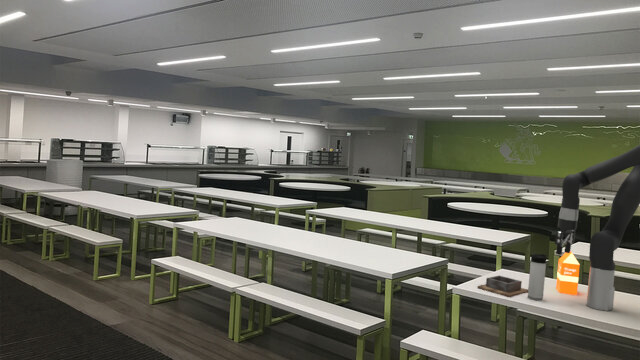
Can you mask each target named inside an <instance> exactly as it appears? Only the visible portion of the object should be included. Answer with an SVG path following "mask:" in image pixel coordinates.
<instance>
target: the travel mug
mask: <svg viewBox="0 0 640 360" xmlns="http://www.w3.org/2000/svg"><path fill="white" fill-rule="evenodd" d="M530 256H531V258H530V259H531V260H530V266H529V279H528V288H527V289H528V292H527V298H528V299H529V298H530V299H529V300H531V301H532V300H533V301H540V302H541V301H543V300H544V291H545V290H544V289H545V281H546V280H545V279H546V269H547V255H546V254H544V253H542V254H540V253H539V254H537V253H535V254H532V255H530Z"/></svg>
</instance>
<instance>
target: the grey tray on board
mask: <svg viewBox="0 0 640 360" xmlns="http://www.w3.org/2000/svg"><path fill="white" fill-rule="evenodd" d="M522 282H523V281H522V280H519V279H514V278H511V277H508V276H503V275H495V276H491V277H486V282H485V283H484V284H481V285H477V289H480V290H482V291H487V292H490V293H493V294H495V295H496V294H497V295H500V296H504V297H506V298H512V297H516V296H519V295H523V294H528V288H525V287H524V288H523V287H522Z"/></svg>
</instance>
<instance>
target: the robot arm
mask: <svg viewBox="0 0 640 360" xmlns="http://www.w3.org/2000/svg"><path fill="white" fill-rule="evenodd" d="M630 168H632V169H631V171H630V172H629V173H628V174H627V176H626V178H624V180H623V181H622V183H621V184H620V186H619V188H618V189H617V191H616V193H615V195H614V197H613V200H612V203H611V208H610V213H609V218H608V220H607V221H606V224H605V226H604V227H603V228H602V230H601V231H597V232H595V233H594V234H593V235H592V236H591V237H590V241H589V252H588V253H589V255H588V257H589V263H590V264H589V274H588V284H587V295H586V306H587V307H589V308H592V309H595V310H599V311H606V312H608V311H610V310H611V311H612V310H613V309H614V302H615V301H614V300H615V291H616V288H615V286H614V283H615V282H614V281H615V272H616V263H615V261H614V253H615V251H616V250H618V248H619V247H620V245H621V242H622V239H623V238H624V237H623V236H624V235H625V231H626V228H627V227H628V225H629V224H630V222H631V220H632V218H633V217H634V216H635V213H636V211H637V210H638V207H639V206H640V144H637V146H635V147H634V148H632V149H629V150H628V151H626V152H623V153H622V154H619V155H617V156H614V157H612V158H609V159H606V160H603V161H601V162H599V163H596V164H594V165H591V166H589V167H587V168H586V169H584V170H581V171H580V172H577V173H574V174H573V173H572V174H571V173H570V174H568V175H566V176H565V177H564V178H563V180H562V181H563V182H562V191H561V192H562V193H561V194H562V199H561V205H560V211H559V214H558V221H557V228H559V229H560V231H559V230H558V231H556V233H555V239H554V244H555V246H556V251H555V254H556V255H560V256H561V255H562V254H563V249H564V254H565V253H570V251H571V248H572V245H573V244H575V239H576V230H577V228H578V220H579V209H580V203H581V202H580V197H579V193H580V190H581V189H584V188H585V187H587V186H589V185H591V184H594V183H598V182H599V181H603V180H606V179H607V178H610V177H612V176H614V175H615V176H616V174H619V173H621V172H623V171H625V170H627V169H630ZM564 245H565V246H564Z"/></svg>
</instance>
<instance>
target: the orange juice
mask: <svg viewBox="0 0 640 360" xmlns="http://www.w3.org/2000/svg"><path fill="white" fill-rule="evenodd" d="M557 263H558V265H557V273H556V285H555V289H556V290H557V292H558V293H559V294H564V295H565V294H566V295H572V296H573V295H574V296H577V295H578V287H579V276H580V265H581V264H580V263H579V261H578V260H577V257H575V255H574V253H573V252H572V251H571V250H570V253H565V252H564V253H563V255H562V256H561V257H560V258H558V262H557Z"/></svg>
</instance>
